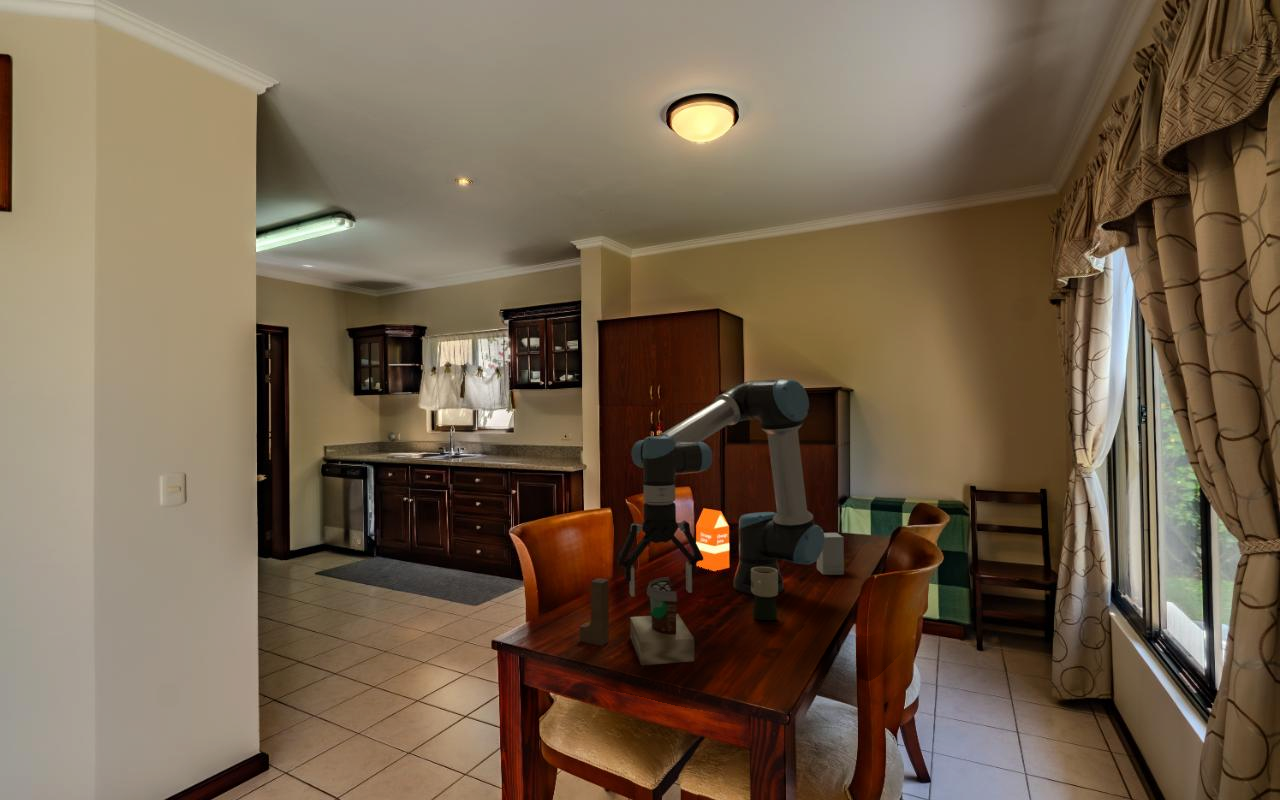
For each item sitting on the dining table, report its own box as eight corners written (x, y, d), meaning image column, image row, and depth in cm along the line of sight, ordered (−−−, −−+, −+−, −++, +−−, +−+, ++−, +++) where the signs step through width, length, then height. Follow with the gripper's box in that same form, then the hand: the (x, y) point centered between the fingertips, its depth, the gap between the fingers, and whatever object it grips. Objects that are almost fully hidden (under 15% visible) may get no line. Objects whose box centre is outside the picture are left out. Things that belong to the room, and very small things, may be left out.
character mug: (758, 610, 166) (757, 563, 166) (783, 614, 163) (783, 566, 163) (745, 623, 156) (744, 573, 157) (771, 628, 153) (771, 576, 153)
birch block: (678, 634, 150) (677, 613, 150) (694, 661, 134) (694, 638, 134) (630, 637, 148) (630, 617, 148) (641, 665, 132) (641, 642, 132)
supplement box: (844, 575, 200) (844, 537, 200) (822, 575, 200) (821, 537, 200) (837, 569, 207) (837, 532, 207) (816, 569, 207) (815, 532, 207)
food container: (644, 618, 147) (644, 577, 147) (669, 617, 147) (669, 576, 147) (649, 638, 134) (649, 593, 134) (677, 636, 135) (676, 592, 135)
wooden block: (609, 641, 145) (609, 579, 145) (602, 646, 142) (602, 583, 142) (586, 637, 148) (585, 576, 148) (579, 641, 145) (578, 579, 145)
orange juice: (711, 562, 217) (710, 506, 217) (729, 567, 210) (729, 510, 210) (696, 566, 212) (695, 509, 212) (714, 571, 205) (713, 512, 205)
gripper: (608, 507, 135) (609, 601, 135) (715, 502, 139) (716, 594, 139) (604, 501, 143) (606, 591, 142) (706, 497, 147) (707, 584, 147)
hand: (660, 592), depth 141 cm, fingers open, 13 cm apart
